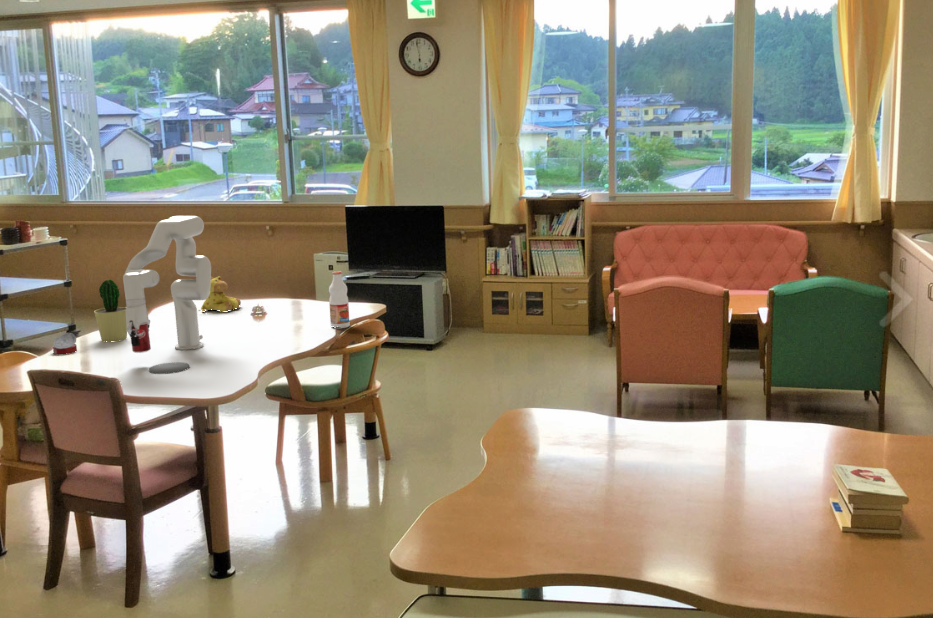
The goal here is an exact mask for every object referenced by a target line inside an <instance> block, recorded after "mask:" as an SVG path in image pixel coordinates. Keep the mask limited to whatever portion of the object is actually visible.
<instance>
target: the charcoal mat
mask: <svg viewBox="0 0 933 618" xmlns="http://www.w3.org/2000/svg"><path fill="white" fill-rule="evenodd" d="M187 368H188V369H190V363H188V362H181V361H180V362H179V361H177V362H175V361H174V362H172V361H171V362H164V363H159V364H155V365H152V366H150V367H149V368H148V372H149V371H150V372H149V373H151V372H153V373H152V374H156V373H165V374H174V373H173V372H175V373H180V372H183V370H184V371H186V370H188V369H187ZM185 369H186V370H185ZM179 371H180V372H179Z"/></svg>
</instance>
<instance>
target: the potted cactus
mask: <svg viewBox="0 0 933 618" xmlns="http://www.w3.org/2000/svg"><path fill="white" fill-rule="evenodd" d="M99 283H100V284H101V285H100V284H99V285H100V286H99V287H98V291H99V292H98V293H99V296H98V298H101V300H102V303H101V304H102V305H103V308H99V309H96V310H94V311H93V312H94V316H95V320H96V324H97V327H98V331H99V336H100V339H101V342H103V341H105V342H104V343H112V342H111V341H117V342H120V341H119V340H123V341H125V340H126V338H127V337H128V332H127V325H126V307H127V306H125V307H124V306H119V303H120V302H119V299H120V295H121V294H120V288H118V287H119V285H118V284H117V283H115V281H114V280H113V279H106V280H103V281H102V283H101V282H99ZM124 339H125V340H124ZM106 341H107V342H106Z"/></svg>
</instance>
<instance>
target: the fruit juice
mask: <svg viewBox="0 0 933 618" xmlns="http://www.w3.org/2000/svg"><path fill="white" fill-rule="evenodd" d="M331 274H332V281H331V284H330V285H329V286H328V293H329V295H330V296H329V300H328V301H329V318H330V319H329V321H330V322H329V323H330V327H331V326H334V327H337V326H338V327H341V328H340V329H346V328H349V327H350V323H351V322H350V310H349V309H350V308H349V297H348V286H347V284H346V283H345V282H344V279H343V271H342V270H336V271H335V270H334V271H332V273H331Z"/></svg>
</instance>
